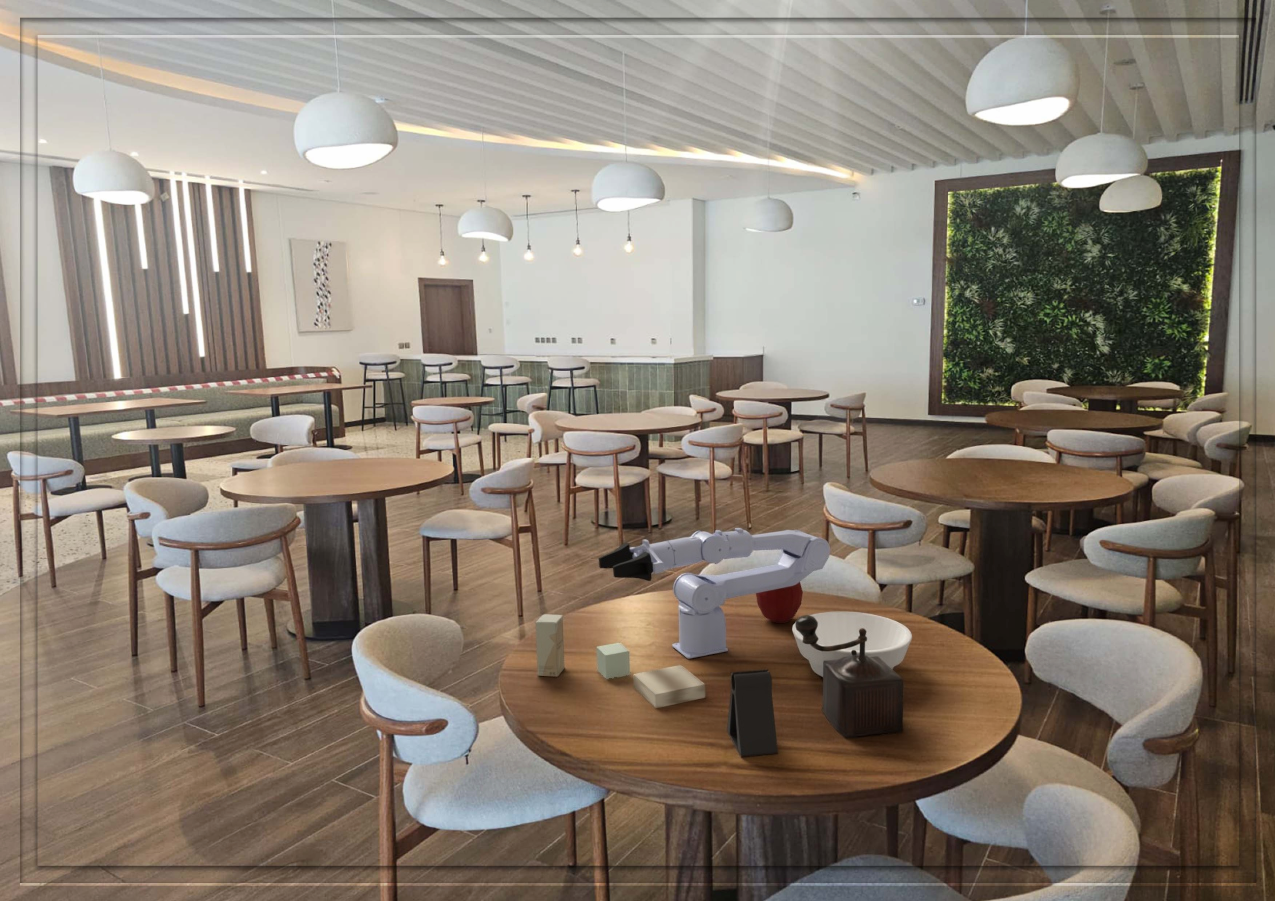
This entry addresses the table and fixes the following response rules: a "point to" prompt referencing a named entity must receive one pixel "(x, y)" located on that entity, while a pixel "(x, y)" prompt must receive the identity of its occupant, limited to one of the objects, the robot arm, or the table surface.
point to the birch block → (669, 686)
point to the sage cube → (613, 660)
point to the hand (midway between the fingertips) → (606, 567)
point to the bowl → (844, 627)
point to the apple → (780, 603)
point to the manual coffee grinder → (857, 688)
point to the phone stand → (752, 713)
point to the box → (550, 645)
